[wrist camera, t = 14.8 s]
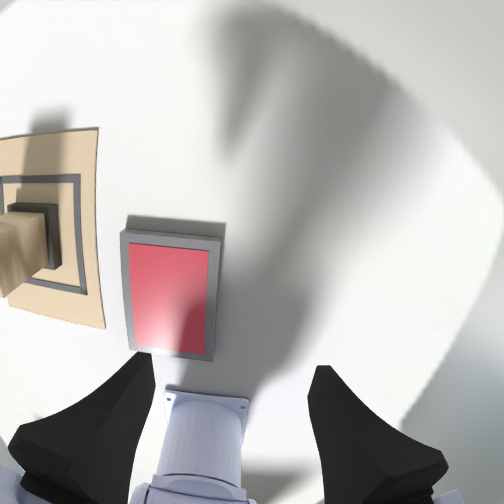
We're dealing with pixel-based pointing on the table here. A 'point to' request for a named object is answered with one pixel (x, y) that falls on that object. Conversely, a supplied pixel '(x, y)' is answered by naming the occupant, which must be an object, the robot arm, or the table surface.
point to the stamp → (27, 243)
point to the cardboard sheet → (69, 220)
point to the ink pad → (170, 292)
